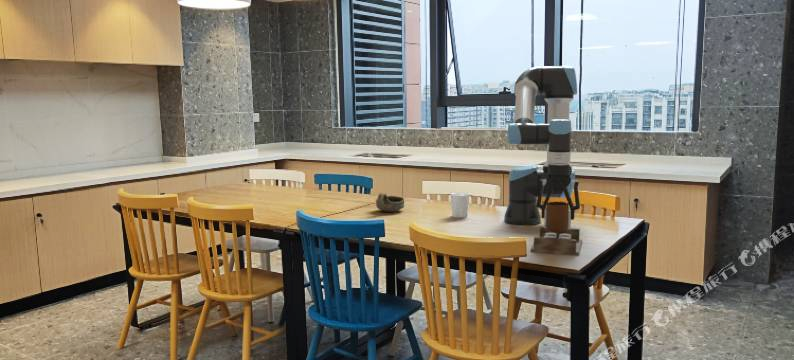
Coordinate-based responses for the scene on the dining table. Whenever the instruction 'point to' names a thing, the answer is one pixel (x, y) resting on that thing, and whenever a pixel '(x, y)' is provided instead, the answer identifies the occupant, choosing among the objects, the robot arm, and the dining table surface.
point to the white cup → (459, 204)
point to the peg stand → (557, 242)
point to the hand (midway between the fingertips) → (557, 227)
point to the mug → (557, 216)
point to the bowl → (389, 202)
